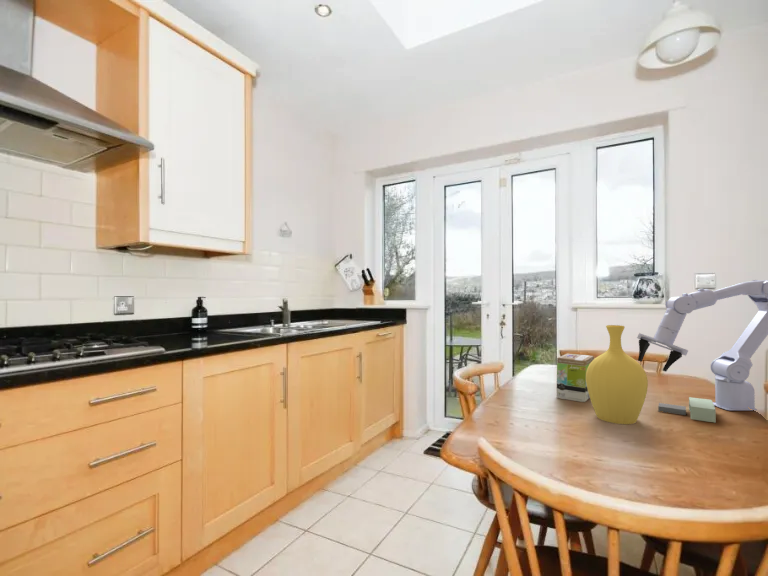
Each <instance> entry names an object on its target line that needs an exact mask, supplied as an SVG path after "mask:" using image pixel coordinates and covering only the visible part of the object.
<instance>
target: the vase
mask: <svg viewBox="0 0 768 576" xmlns="http://www.w3.org/2000/svg"><path fill="white" fill-rule="evenodd" d="M605 328H606V330H607V332H608V335H609V346H608V349H607V350H605V351H604V352H603V353H601V354H600V355H598V356H597V357H594V360H593V361H592V362H591V363H590V364H589V366H588V368H587V371H586V384H587V389H588V393H589V396H590V398H589V399H590V401H591V402H590V403H591V404H592V408H593V410H594V412H595V414H596V415H595V416H596V417H597V419H598V420H599V419H600V420H601V421H603V422H607V423H611V424H612V423H613V424H619V425H633V424H635V423H637V421H638V419H639V416H640V415H641V412H642V409H643V407H644V403H645V401H646V397H647V395H648V394H647V393H648V386H649V380H648V376H647V375H648V374H647V373H646V371H645V369H644V367H643V366H642V365H641V363H639V362H638V360H636V359H634V358H633V357H632V356H630V355H629V354H627V353H626V352H625V351H624V349H623V347H622V335H623V332H624V330H625V325H620V324H619V325H618V324H614V325H613V324H608V325H605Z"/></svg>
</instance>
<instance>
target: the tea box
mask: <svg viewBox="0 0 768 576" xmlns="http://www.w3.org/2000/svg"><path fill="white" fill-rule="evenodd" d="M594 359H595V357H594V355H587V354H577V353H565V354H562V355H560V356H558V357H557V358H556V398H557V399H562V400H569V401H575V402H581V403H586V402H587V401H588V400H589V399H590V396H589V393H588V389H587V384H586V371H587V368H588V366H589V364H590V363H591V362H592V361H593V360H594Z"/></svg>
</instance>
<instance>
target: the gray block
mask: <svg viewBox="0 0 768 576" xmlns="http://www.w3.org/2000/svg"><path fill="white" fill-rule="evenodd" d="M686 407H687V406H684V405H679V404H678V405H676V404H669V403H664V402H658V407H657V408H658V412H660V411H663V412H662V413H667V412H668V414H675V415H681V416H686V415H687V409H686Z"/></svg>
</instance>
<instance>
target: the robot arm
mask: <svg viewBox="0 0 768 576" xmlns="http://www.w3.org/2000/svg"><path fill="white" fill-rule="evenodd" d="M741 295H742V296H747V297H748V298H749V299H750V300H751V301H752V303H754V304H755V305H756V307H757V310H758V311H757V312H756V314H755V316H753V318H752V319H751V321H750V322H749V323H748V325H747V326H746V327H745V329H744V330H743V331H742V333H741V334H740V336H738V339H736V341H735V343H734V344H733V345H732V347H731V348H730V349H729V350H726V351H724V352H722V353H721V354H720V356H718V357H716V358H715V359H714V360H712V361H711V363H710V371H711V372H712V373H713V375H714V385H715V386H714V390H715V391H714V392H715V397H714V398H715V401H712V402H713V404H714V407H717V408H720V409H723V410H726V411H753V410H754V411H758V409H757V408H755V407H756V403H755V401H756V400H755V399H756V397H755V396H756V395H755V388H754V386H753V384H752V383H751V382H749V381H747V379H748V378H749V377H750V370H751V369H752V367H753V362H752V360H751V358H752V357H753V355H754V354H755V353H756V351H757V350H758V348H760V347H761V345H762V343H763V342H764V341H765V340H766V338H767V337H768V279H752V280H749V281H742V282H739V283H736V284H733V285H728V286H726V287H722V288H719V289H716V290H711V289H709V288H705V289H704V287H703V288H698V289H697V291H693V292H689V293H687V292H685V293H682V296H672V297H669V299H668V300H666V301H665V308H666V309H665V312H664V314H663V316H662V318H661V321H660V323H659V325H658V327H657V329H656V332H655V334H654V336H649V335H646V334H644V333H640V332H639V333H638V335H637V337H636V338H637V339H638V347H639V349H638V350H639V351H638V358H637V362H638V361H639V362H641V363H642V362H643V360H644V357H645V355H646V352H647V351H648V349H649V347H650V346H651V344H652V345H655V346H658V347H661V348H662V349H667V350H670V352H669V355H668V358H667V360H666V362H665V363H664V364H665V365H664V366H663V368H662V371H663V372H665V373H667V371H668V370H669V368H670V367H671V366H672V365H673V364H674V363H675V362H677V361H678V360H680V359H681V358H682V357H683V356H685V357H686V356H687V355H688V352H689V350H688V349H687V348H682V347H680V346H678V345H675V344H674V343H675V341H676V339H677V337H678V334H679V332H680V330H681V328H682V326H683V324H684V321H685V318H686V316H687V314H691V313H692V312H693V311H696V310H700V309H703V308H708V307H712V306H715V305H716V303H717V301H718V300H719V301H720V300H723V299H728V298H731V297H737V296H741ZM748 407H749V408H750V409H752V410H750V409H749V408H748Z"/></svg>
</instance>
